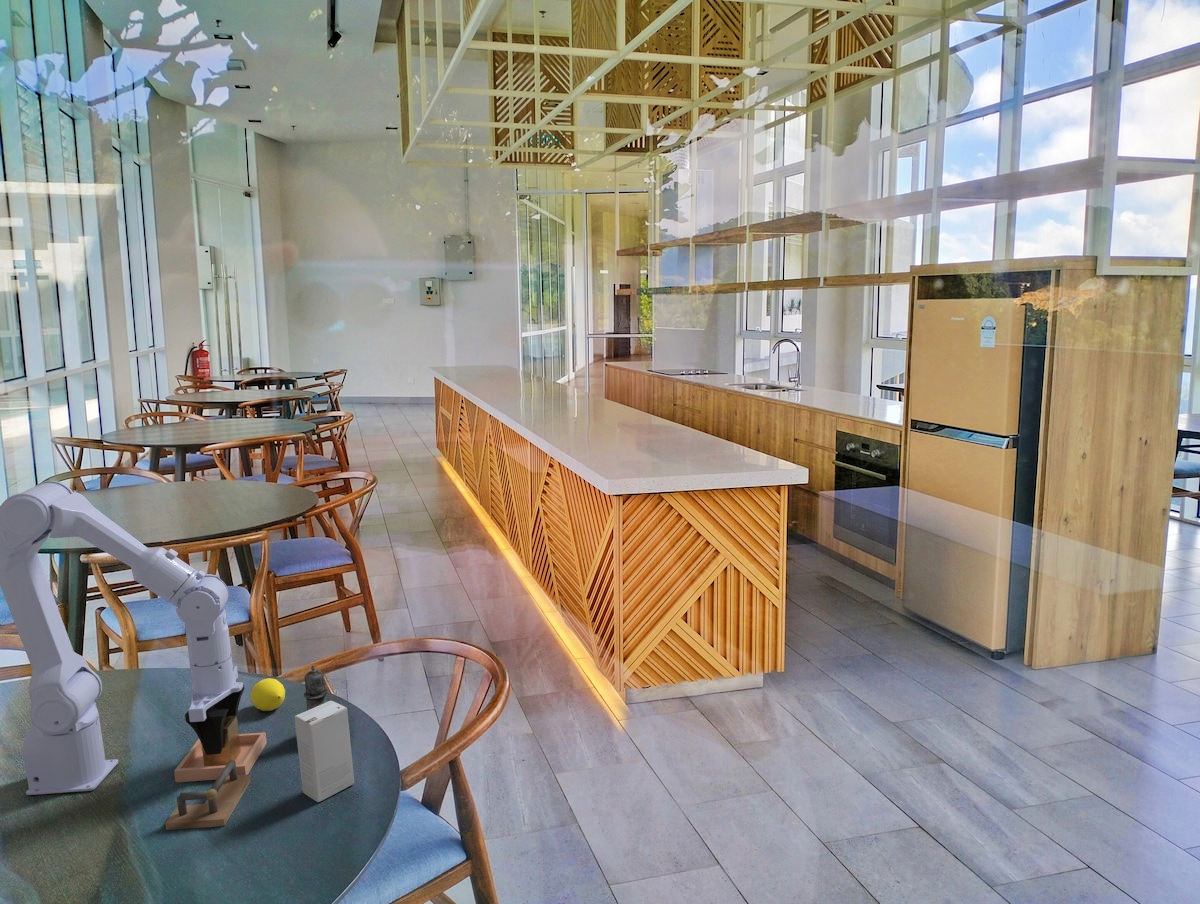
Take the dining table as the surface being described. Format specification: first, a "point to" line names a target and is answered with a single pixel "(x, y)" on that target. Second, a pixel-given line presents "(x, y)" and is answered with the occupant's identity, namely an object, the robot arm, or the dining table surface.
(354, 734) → the dining table surface
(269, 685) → the lemon
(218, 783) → the bent wire
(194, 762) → the dish
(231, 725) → the hollow wooden box
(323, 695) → the dark grey chess piece
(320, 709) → the skincare box
